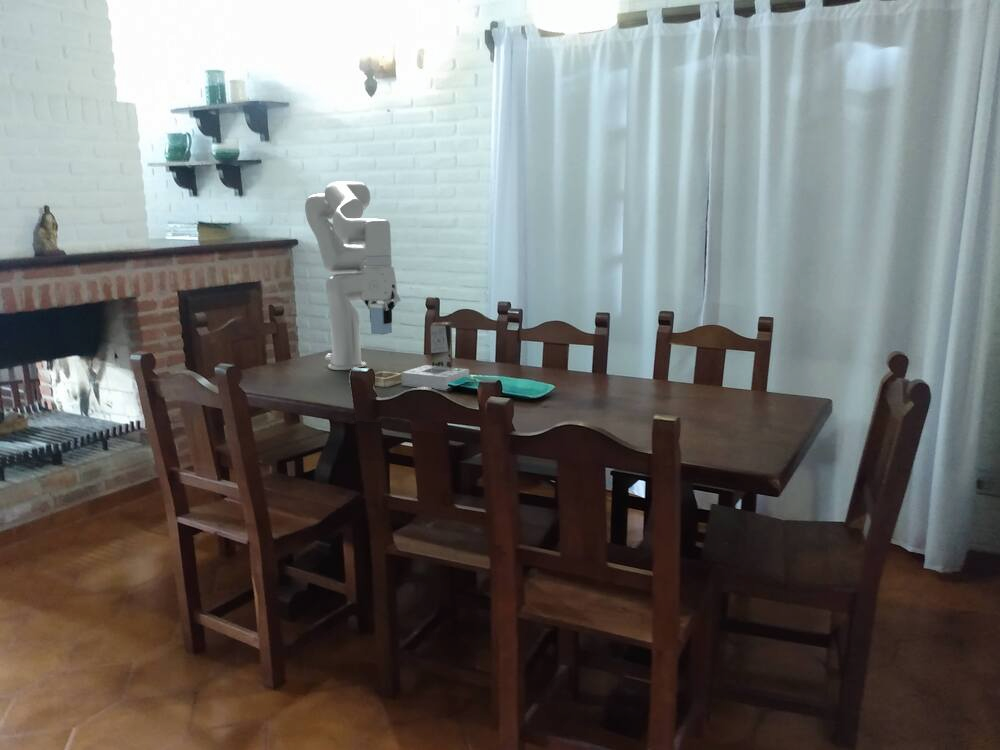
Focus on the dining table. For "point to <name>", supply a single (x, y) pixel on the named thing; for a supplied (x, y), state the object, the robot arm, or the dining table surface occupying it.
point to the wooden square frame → (387, 378)
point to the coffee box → (441, 344)
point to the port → (432, 376)
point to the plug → (379, 319)
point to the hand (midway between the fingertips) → (381, 322)
